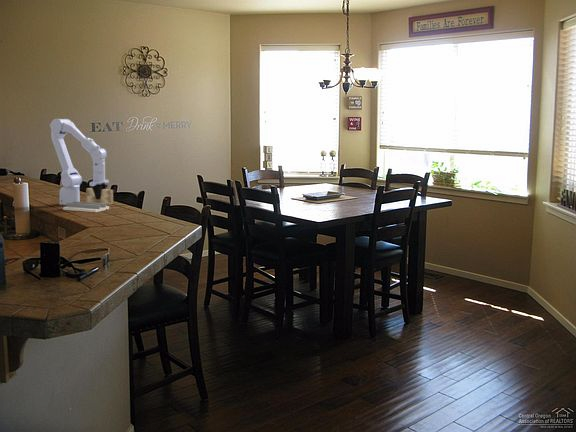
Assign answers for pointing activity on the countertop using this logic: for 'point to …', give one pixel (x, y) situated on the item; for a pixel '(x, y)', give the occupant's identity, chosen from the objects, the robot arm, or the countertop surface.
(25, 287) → the countertop surface
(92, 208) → the track plinth
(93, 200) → the door panel
